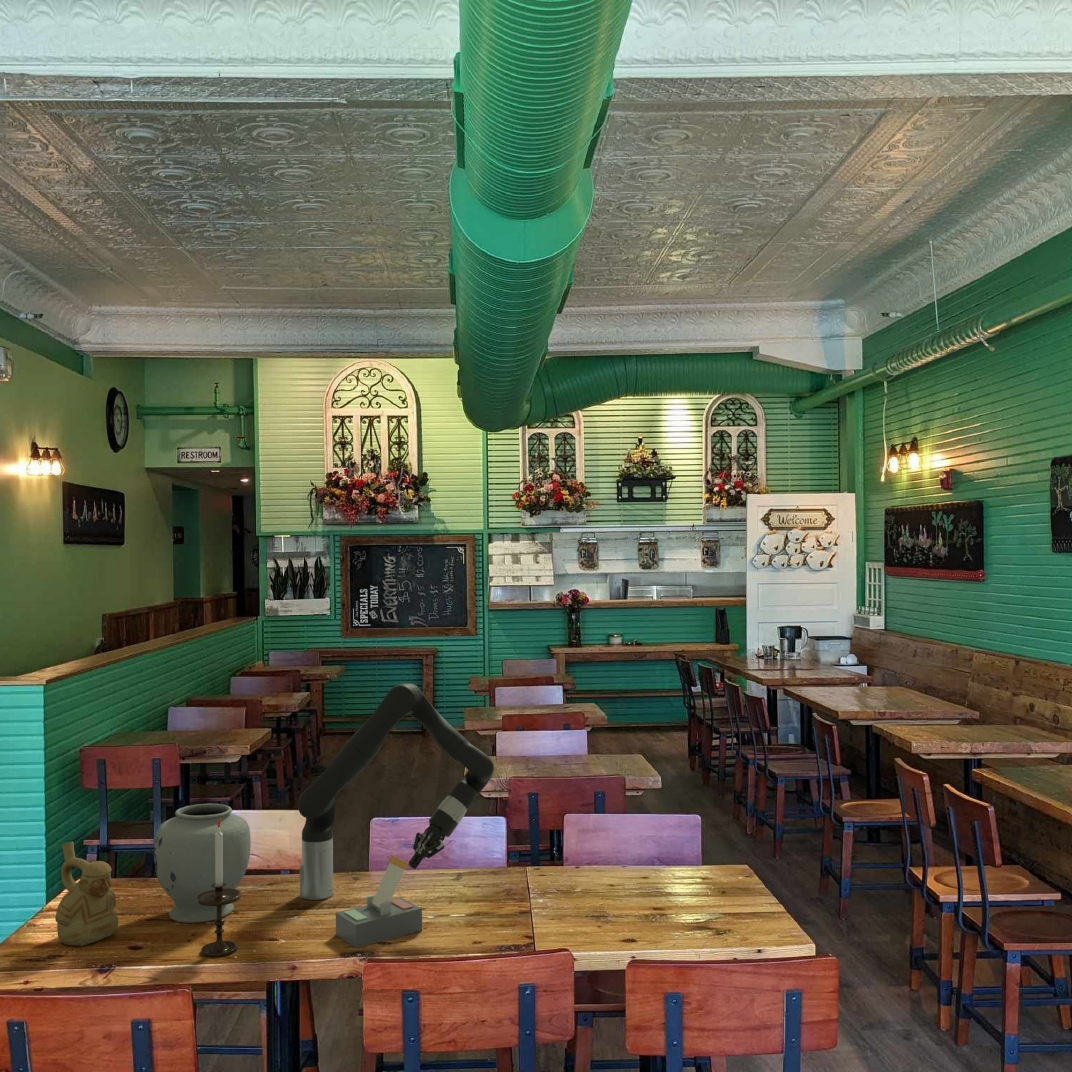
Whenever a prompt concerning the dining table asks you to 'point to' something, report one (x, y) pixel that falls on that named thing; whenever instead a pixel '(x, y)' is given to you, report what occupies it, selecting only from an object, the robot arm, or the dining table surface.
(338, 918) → the switch box
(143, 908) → the dining table surface
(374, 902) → the lever
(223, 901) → the candlestick
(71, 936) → the ceramic vessel
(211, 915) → the ceramic vase
